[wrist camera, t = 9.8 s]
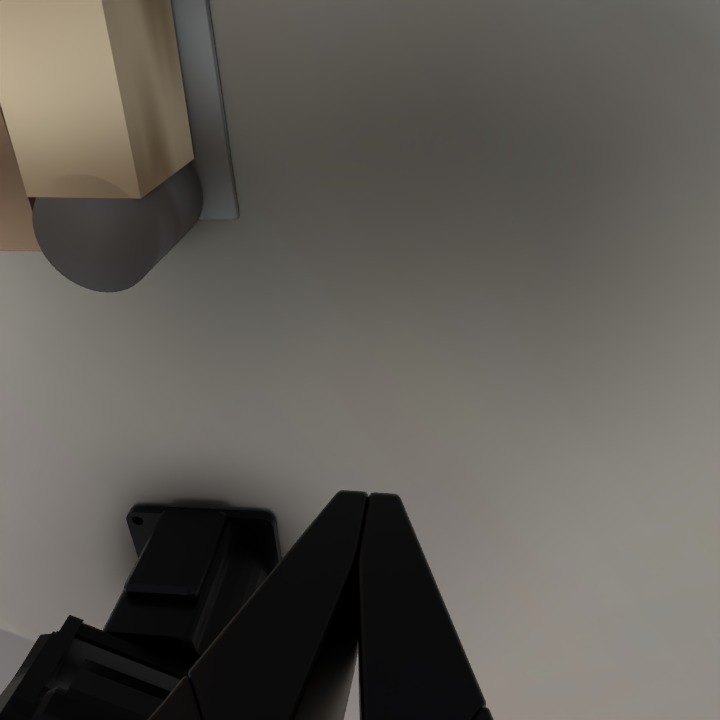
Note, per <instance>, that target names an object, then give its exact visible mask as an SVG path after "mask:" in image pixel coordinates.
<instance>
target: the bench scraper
mask: <svg viewBox="0 0 720 720" xmlns="http://www.w3.org/2000/svg"><path fill="white" fill-rule="evenodd" d="M170 2H171V8H172V15H173V21H174V28H175V35H176V41H177V48H178V55H179V61H180V68H181V75H182V81H183V88H184V94H185V101H186V108H187V114H188V121H189V128H190V134H191V141H192V148H193V154H194V159H193V160H192V161H190V162H189V163H190V164H191V165H192V167H193V168H194V170H195V172H196V174H197V176H198V178H199V181H200V184H201V188H202V194H203V205H202V210H201V213H200V216H199V218H198V220H237V219H238V217H239V211H238V204H237V197H236V190H235V183H234V176H233V169H232V162H231V155H230V148H229V141H228V134H227V127H226V121H225V114H224V107H223V100H222V93H221V86H220V79H219V72H218V65H217V58H216V51H215V44H214V37H213V30H212V23H211V16H210V9H209V2H208V0H170ZM36 198H37V197H27V194H26V190H25V187H24V183H23V180H22V177H21V173H20V170H19V166H18V163H17V159H16V156H15V152H14V149H13V146H12V142H11V139H10V135H9V132H8V128H7V125H6V122H5V118H4V115H3V111H2V108H1V104H0V251H42V250H41V248H40V246H39V244H38V242H37V239H36V237H35V233H34V229H33V221H32V214H33V207H34V203H35V200H36Z"/></svg>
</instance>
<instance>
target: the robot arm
mask: <svg viewBox="0 0 720 720" xmlns="http://www.w3.org/2000/svg"><path fill="white" fill-rule="evenodd" d="M139 517H140V518H139ZM126 519H127V523H128V526H129V530H130V533H131V536H132V539H133V542H134V545H135V549H136V552H137V555H138V560H137V562H136V564H135V566H134V568H133V570H132V571H131V573H130V575H129V577H128V579H127V581H126V583H125V586H124V590H123V592H122V594H121V596H120V598H119V600H118V602H117V604H116V606H115V608H114V609H113V611H112V613H111V615H110V617H109V619H108V621H107V623H106V625H105V627H104V629H103V631H102V630H100V629H97V628H95V627H92V626H90V625H87V624H84V623H83V621H84V620H82V619H79V618H77V617H74V616H72V615H69V617H68V618H67V620H66V621H65V623H64V624H63V626H62V628H61V629H60V631H59V632H58V631H57V632H54V631H53V632H52V634H44V635H40V636H39V638H38V639H37V641H36V643H35V644H34V646H33V648H32V649H31V651H30V652H29V654H28V656H27V657H26V659H25V661H24V662H23V664H22V666H21V667H20V669H19V670H18V672H17V673H16V675H15V677H14V678H13V679H12V681H11V682H10V683H9V685H8V686H7V687H6V689H5V690H4V691H3V693H2V694H1V695H0V720H344V715H345V711H346V706H347V702H348V697H349V693H350V688H351V684H352V679H353V675H354V670H355V665H356V659H357V654H358V655H359V706H360V720H493V717H492V715H491V712H490V710H489V709H488V708H486V701H485V699H484V697H483V694H482V692H481V689H480V687H479V685H478V682H477V680H476V677H475V675H474V673H473V670H472V668H471V665H470V663H469V661H468V658H467V656H466V654H465V651H464V649H463V646H462V644H461V642H460V639H459V637H458V634H457V632H456V630H455V627H454V625H453V622H452V620H451V618H450V615H449V613H448V610H447V608H446V606H445V603H444V601H443V599H442V596H441V594H440V591H439V589H438V587H437V584H436V582H435V579H434V577H433V575H432V572H431V570H430V567H429V565H428V563H427V560H426V558H425V555H424V553H423V551H422V548H421V546H420V543H419V541H418V539H417V536H416V534H415V532H414V529H413V527H412V524H411V522H410V520H409V517H408V515H407V512H406V510H405V508H404V505H403V503H402V500H401V498H400V497H399V496H398V495H397V494H389V493H375V492H374V493H371V494H370V495H369V496H368V494H367V493H366V492H361V491H347V490H341V491H339V492H338V493H337V494H336V495H335V496H334V497H333V498H332V499H331V501H330V502H329V503H328V504H327V505H326V507H325V508H324V509H323V510H322V511H321V513H320V514H319V515H318V516H317V518H316V519H315V520H314V521H313V522H312V524H311V525H310V526H309V527H308V528H307V530H306V531H305V532H304V533H303V534H302V536H301V537H300V538H299V539H298V540H297V542H296V543H295V544H294V545H293V546H292V548H291V549H290V550H289V551H288V552H287V554H286V555H285V556H284V557H283V558H282V559H281V552H280V545H279V539H278V532H277V526H276V520H275V518H274V517H273V516H272V515H271V514H269V513H267V512H259V511H238V510H218V509H198V508H178V507H157V506H134V507H132V508H131V510H130V512H129V513H128V515H127V517H126ZM261 523H264V524H266V525H264V524H261Z"/></svg>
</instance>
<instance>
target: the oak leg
mask: <svg viewBox="0 0 720 720" xmlns="http://www.w3.org/2000/svg"><path fill="white" fill-rule="evenodd" d="M0 104H1V108H2V111H3V115H4V118H5V122H6V125H7V128H8V132H9V135H10V139H11V142H12V146H13V149H14V152H15V156H16V159H17V163H18V166H19V170H20V173H21V177H22V180H23V183H24V187H25V190H26V194H27V197H37V198H36V200H35V203H34V207H33V214H32V221H33V229H34V233H35V237H36V239H37V242H38V244H39V246H40V248H41V250H42V252H43V253H44V255H45V257H46V258H47V259H48V261H49V262H50V263H51V264H52V265H53V266H54V267H55V269H56V270H58V271H59V272H60V273H61V274H62V275H63V276H65V277H66V278H68V279H69V280H70V281H72V282H74V283H76V284H78V285H80V286H82V287H84V288H87V289H90V290H94V291H99V292H117V291H122V290H125V289H128V288H130V287H132V286H134V285H135V284H137V283H138V282H139V281H140V280H141V279H142V278H143V277H144V276H145V275H146V274H147V273H148V272H149V271H150V270H151V269H152V268H153V267H154V266H155V265H156V264H157V263H158V262H159V261H160V260H161V259H162V258H163V257H164V256H165V255H166V254H167V253H168V252H169V251H170V250H171V249H172V248H173V247H174V246H175V245H176V244H177V243H178V242H179V241H180V240H181V239H182V238H183V237H184V236H185V234H186V233H187V232H188V231H189V230H190V229H191V228H192V227H193V226H194V225H195V224H196V222H197V220H198V218H199V216H200V213H201V210H202V205H203V194H202V188H201V184H200V181H199V178H198V176H197V174H196V172H195V170H194V168H193V167H192V165H191V164H190V163H189V162H190V161H192V160H193V159H194V154H193V148H192V141H191V134H190V128H189V121H188V114H187V108H186V101H185V94H184V88H183V81H182V75H181V68H180V61H179V55H178V48H177V41H176V35H175V28H174V21H173V15H172V8H171V2H170V0H0Z"/></svg>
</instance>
